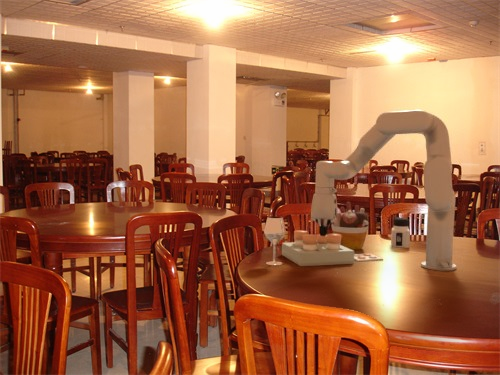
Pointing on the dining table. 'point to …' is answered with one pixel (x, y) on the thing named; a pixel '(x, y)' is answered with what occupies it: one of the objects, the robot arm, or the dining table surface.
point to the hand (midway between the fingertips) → (323, 235)
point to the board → (317, 255)
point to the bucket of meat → (351, 227)
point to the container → (400, 233)
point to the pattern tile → (366, 257)
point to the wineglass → (274, 234)
